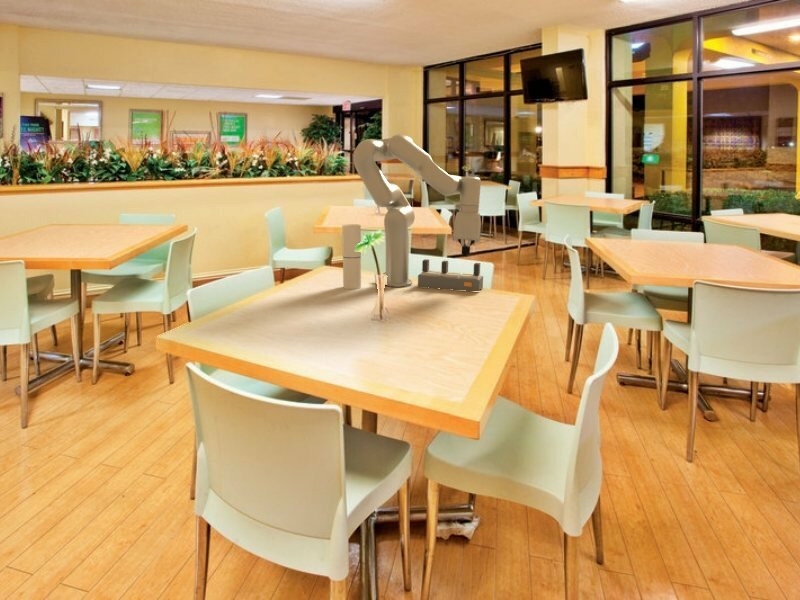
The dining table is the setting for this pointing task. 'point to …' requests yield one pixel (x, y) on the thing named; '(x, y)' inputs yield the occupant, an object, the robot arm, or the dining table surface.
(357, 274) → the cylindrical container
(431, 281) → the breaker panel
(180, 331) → the dining table surface
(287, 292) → the dining table surface
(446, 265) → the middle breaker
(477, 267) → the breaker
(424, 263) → the peg
